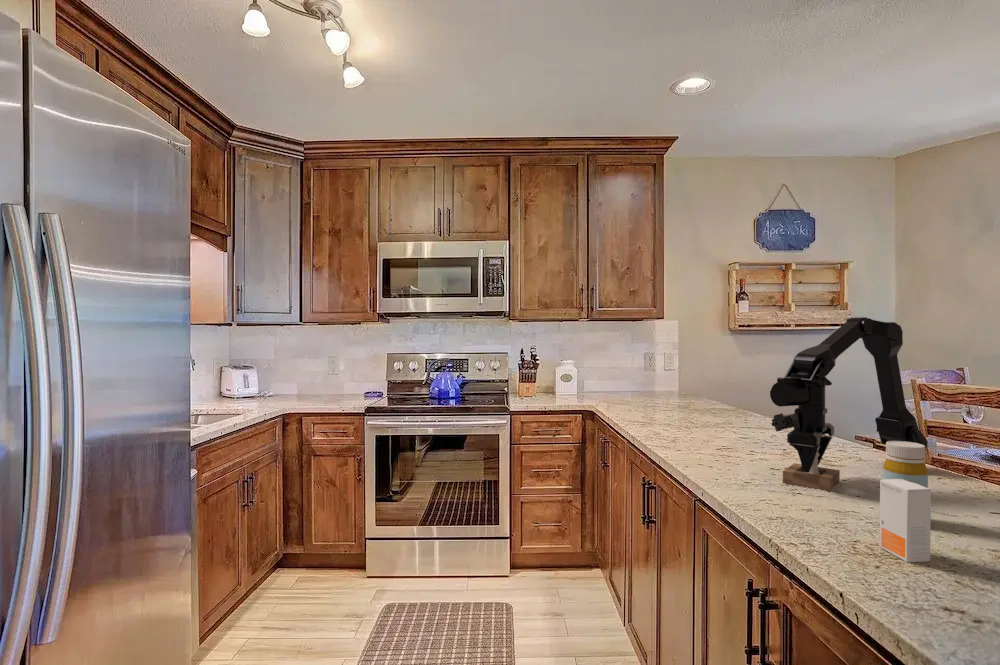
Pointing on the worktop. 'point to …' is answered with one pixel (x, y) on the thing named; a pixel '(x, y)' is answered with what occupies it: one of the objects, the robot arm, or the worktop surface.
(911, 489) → the skincare box
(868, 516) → the worktop surface
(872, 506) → the worktop surface
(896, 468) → the bottle
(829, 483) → the socket
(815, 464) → the rook chess piece
